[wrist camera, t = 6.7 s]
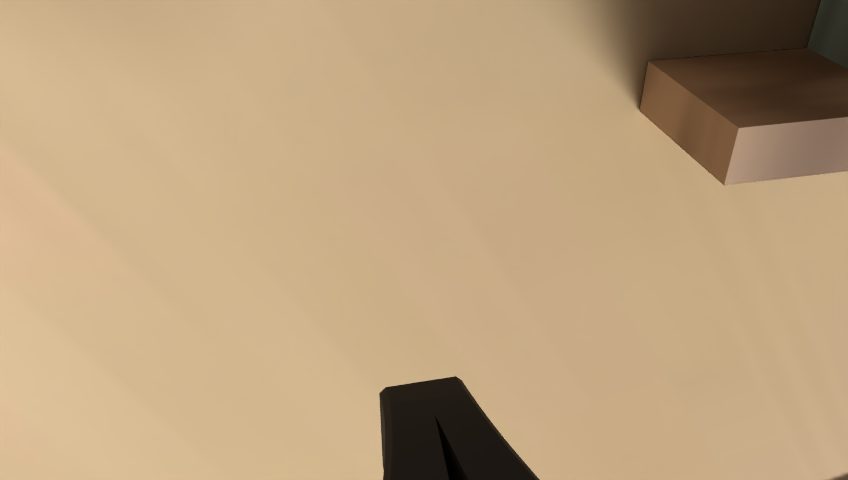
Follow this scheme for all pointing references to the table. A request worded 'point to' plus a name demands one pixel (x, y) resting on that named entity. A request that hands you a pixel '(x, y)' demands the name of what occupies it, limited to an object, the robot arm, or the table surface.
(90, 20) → the table surface
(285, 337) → the table surface
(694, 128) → the dock
